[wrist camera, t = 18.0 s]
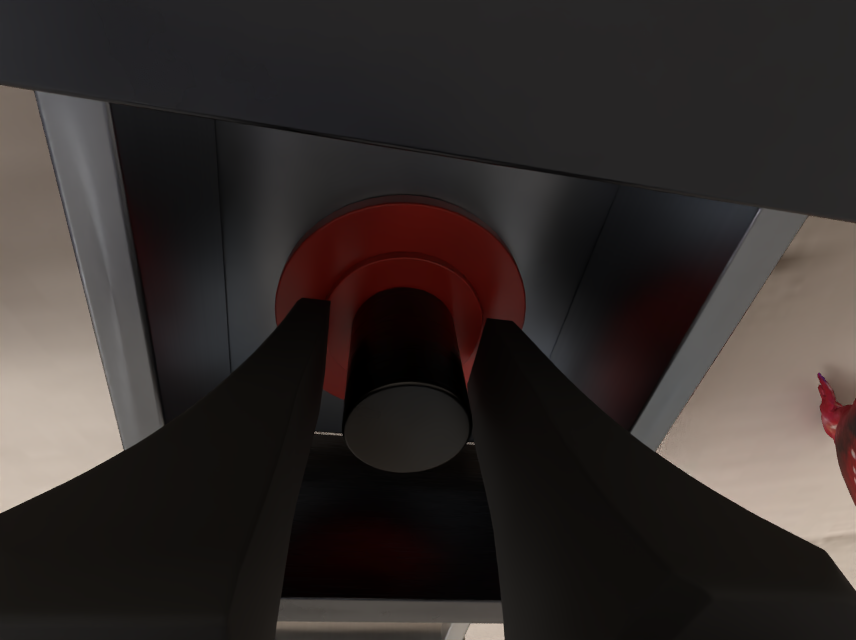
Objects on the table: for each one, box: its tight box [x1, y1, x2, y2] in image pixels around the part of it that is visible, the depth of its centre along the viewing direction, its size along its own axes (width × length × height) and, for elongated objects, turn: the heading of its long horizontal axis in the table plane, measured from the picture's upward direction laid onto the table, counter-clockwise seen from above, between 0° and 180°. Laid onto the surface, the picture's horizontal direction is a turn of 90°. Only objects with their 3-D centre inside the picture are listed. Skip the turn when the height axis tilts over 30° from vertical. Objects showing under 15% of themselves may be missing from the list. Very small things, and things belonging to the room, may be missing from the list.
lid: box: [275, 195, 526, 473], centre depth 11 cm, size 6×6×4 cm
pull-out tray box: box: [34, 91, 808, 640], centre depth 12 cm, size 21×11×5 cm, turn 170°
